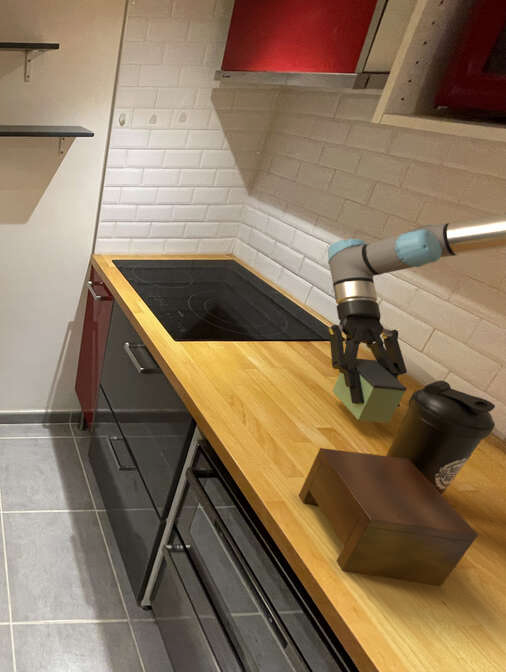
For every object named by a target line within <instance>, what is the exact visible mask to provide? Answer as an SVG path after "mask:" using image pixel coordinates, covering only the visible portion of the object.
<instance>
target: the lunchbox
mask: <svg viewBox="0 0 506 672" xmlns="http://www.w3.org/2000/svg"><path fill="white" fill-rule="evenodd" d="M353 372H359V375H360V381H361V386H362V392H363V397H364V403H357V404H354V403H352V400H351V394H350V388H349V387H346V385H345V380H344V374H343V373H340V372H339V374H338V376H337V379H336V381H335V383H334V386H333V388H332V392H333V394H334V395H335V396H336V398H338V399H339V400H340V401H341V403H342V404H343V405H344V406H345V407H346V408H347V409H348V410H349V412H350V413H351V414H352V415H353V416H354V417H355V418H356V419H357V421H361V422H362V421H363V422H371V423H380V424H390V422H391V420H392V418H393V416H394V414H395V412H396V410H397V408H398V407H399V406H398V404H400V402H401V401H402V399H403V396H404V394H405V393H406V392H407V389H408V388H407V387H406V386H405V384H403V383H402V382H401V381H399V379H398V380H397V379H396V378H395V377H394V376H393V375H392V374H390V373H389V372H388V371H387V370H386V369H385V368H384V367H383V366H381V365H380V364H379V363H378V362H377V361H376V359H366V358H357V359H356V364H355V370H354V371H353ZM397 406H398V407H397Z"/></svg>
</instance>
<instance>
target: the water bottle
mask: <svg viewBox="0 0 506 672" xmlns="http://www.w3.org/2000/svg"><path fill="white" fill-rule="evenodd" d="M495 407H496V405H495V404H494V403H492V402H491V401H489V400H487V399H485V398H482V397H478V396H474V395H471V394H468V393H466V392H462V391H459V390H457V389H453V388H451V385H450V384H449V383H448V382H447V381H446V380H437V381H433V382H432V383H429V384H426V385H425V386H424V387H423V388H422V389H418V390H415V391H414V392H413V393H412V395H411V396H410V399H409V400H408V409H407V411H406V413H405V415H404V417H403V419H402V421H401V423H400V425H399V428H398V430H397V432H396V434H395V436H394V438H393V440H392V442H391V444H390V447H389V449H388V451H387V452H386V455H385V456H388V457H396V458H404V459H409V460H410V461H411V462H412V463H413V464H414V465H415V466H416V468H417V469H418V470H419V471H420V472H421V473H422V474H423V475H424V476H425V477H426V478H427V480H428V481H429V482H430V483H431V484H432V485H433V486H434V487H435V488H436V489H437V490H438V491H439V493H440V494H441V495H442V496H443V494H444V493H445V491H446V490H447V489H448V488H449V487H450V485H451V484H452V482H453V481H454V480H455V479H456V477H457V476H458V474H459V473H460V471H461V470H462V469H463V468H464V466H465V464H467V462H468V461H469V459H470V457H472V454H473V453H474V451H475V450H476V449H477V448H478V446H479V444H480V443H481V442H482V440H483V439H486V438H487V437H489V436H490V435H491V433H492V432H493V430H494V428H495V426H496V424H495V421H494V419H493V415H492V414H491V413H490V412H491V411H493V410H494V409H495Z"/></svg>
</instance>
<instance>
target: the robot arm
mask: <svg viewBox="0 0 506 672" xmlns="http://www.w3.org/2000/svg"><path fill="white" fill-rule="evenodd" d="M504 250H506V213H501V214H495V215H489V216H482V217H476V218H469V219H464V220H459V221H457V220H456V221H453V222H449V223H448V222H447V223H441V224H440V223H439V224H426V225H421V226H417V227H414V229H411V230H408V231H406V232H403V233H399V234H397V235H394V236H392V237H388V238H385V239H384V238H383V239H381V240H378V241H374V242H371V243H366V241H364V240H363V239H358V238H348V239H342V240H338V241H334V243H332V244H330V245H329V246H328V248H327V256H328V257H327V258H328V260H327V261H328V262H327V264H328V266H329V270H330V275H331V280H332V287H333V293H334V300H335V303H336V304H337V306H336V312H337V317H338V320H339V323H338V324H333V325H330V326H327V327H326V328H325V330H326V332H327V334H328V336H329V345H330V353H331V354H330V355H331V356H330V357H331V367H332V368H333V370H338V371H339V374H340V373H343V374H344V380H345V385H346V387H349V388H350V394H351V400H352V403H354V404H357V403H364V397H363V392H362V386H361V381H360V375H359V372H353V371H354V370H355V364H356V359H358V358H357V357H358V353H359V349H360V348H359V347H360V345H361V343H362V344H365V345H366V347H367V349H368V348H369V350H370V351H371V353H372V355H373V357H374V360H376V361H377V362H378V363H379V364H380V365H381V366H383V367H384V368H385V369H386V370H387V371H388V372H389V373H390V374H392V375H393V376H394V377H395V378H396V379H397V380H398V381H399V379H398V376H401V375H405V374H407V372H408V371H407V367H406V363H405V361H404V357H403V353H402V350H401V347H400V343H399V331H398V330H397V329H392V330H390V329H387V328H385V327H384V326H383V324H382V322H381V310H380V305H379V303H378V302H377V301H378V295H377V290H376V287H375V282H374V277H375V276H380V275H383V274H388V273H392V272H397V271H402V270H407V269H412V268H419V267H422V266H426V265H429V264H432V263H436V262H437V261H439V260H440V259H441V258H446V257H453V256H460V255H469V254H477V253H478V254H479V253H486V252H494V251H495V252H497V251H504ZM343 334H344V335H345V341H344V337H343ZM344 345H345V348H344ZM399 407H401V405H400V403H399V404H398V406H397V408H399Z"/></svg>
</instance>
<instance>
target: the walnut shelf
mask: <svg viewBox="0 0 506 672" xmlns="http://www.w3.org/2000/svg"><path fill="white" fill-rule="evenodd" d="M298 497H299V498H300V501H301V502H302V503H304V504H311V505H318V507H319V509H320V511H321V513H322V514H323V515H324V517H325V518H326V520H327V522H328V524H329V525H330V528H332V530H333V532H334V534H335V535H336V536H337V539H339V541H340V543H341V545H342V546H343V548H342V550H341V551H340V553H339V554H338V556H337V559H336V563H337V564H338V566H339V568H340V570H342V571H344V572H351V573H357V574H363V575H370V576H374V577H375V576H376V577H381V578H387V579H395V580H399V581H400V580H401V581H407V582H413V583H418V584H419V583H420V584H426V585H433V586H437V587H438V586H439V587H441V586H442V585H443V584H444V583H445V581H446V580H447V578H448V577H449V576H450V574H452V572H453V571H454V569H455V568H456V566H457V565H458V564H459V562H460V561H461V560H462V558H463V557H464V556H465V555H466V553H467V551H468V550H469V549H470V547H471V546H472V545H473V543H474V541H476V539H477V538H478V536H479V534H478V532H476V531H475V529H474V528H473V527H472V526H471V525H470V523H468V522H467V521H466V520H465V518H464V517H463V516H462V515H461V514H460V513H459V512H458V511H457V510H456V509H455V507H454V506H453V505H452V504H451V503H450V502H449V501H448V499H446V497H444V496H443V494H442V495H441V494H440V493H439V491H438V490H437V489H436V488H435V487H434V486H433V485H432V484H431V483H430V482H429V481H428V480H427V478H426V477H425V476H424V475H423V474H422V473H421V472H420V471H419V470H418V469H417V468H416V466H415V465H414V464H413V463H412V462H411V461H410V460H409V459H404V458H396V457H388V456H386V455H379V454H371V453H363V452H357V451H356V452H355V451H347V450H339V449H330V448H323V447H320V448H319V450H318V451H317V454H316V456H315V458H314V460H313V463H312V465H311V466H310V469H309V471H308V474H307V476H306V478H305V480H304V482H303V484H302V488H301V489H300V492H299V494H298Z"/></svg>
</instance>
